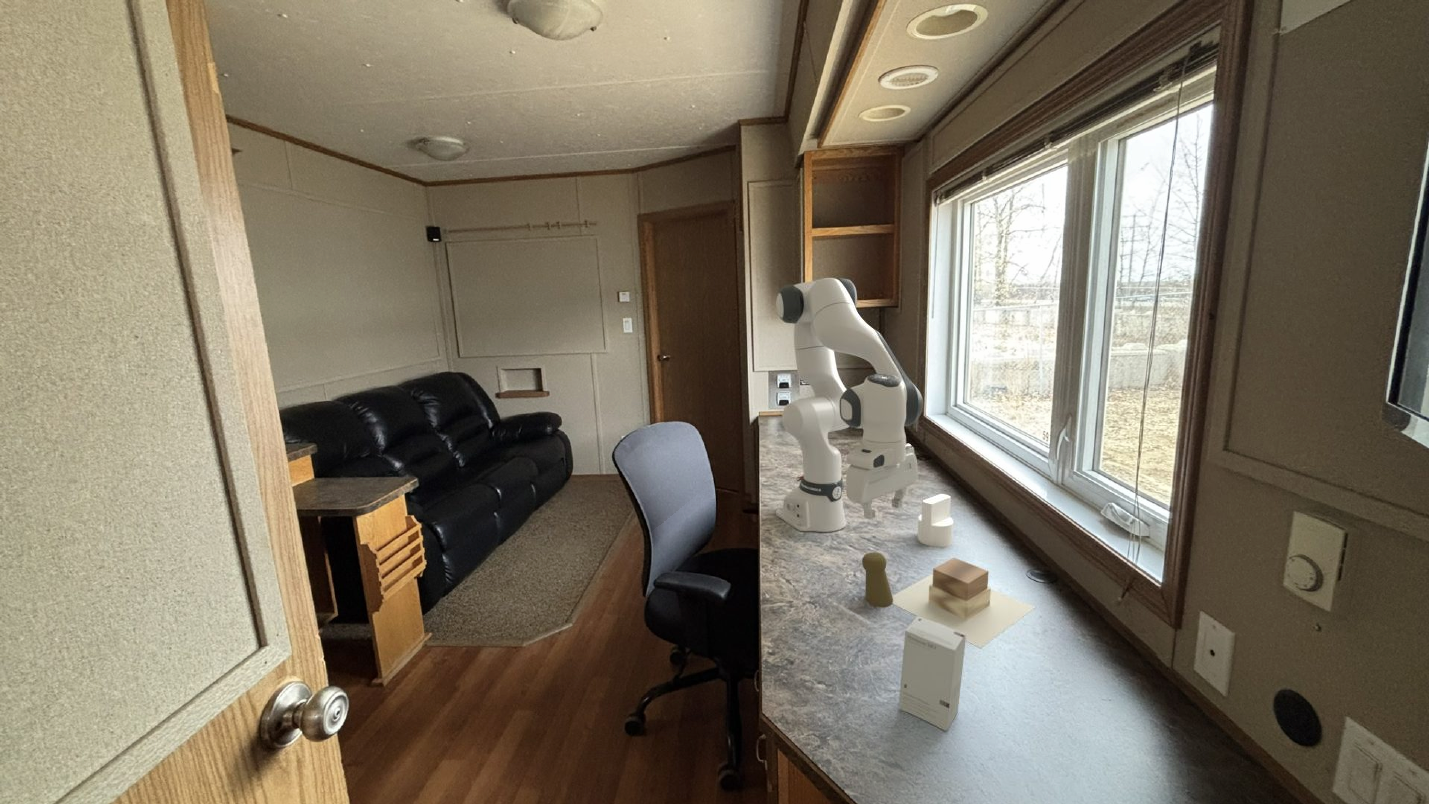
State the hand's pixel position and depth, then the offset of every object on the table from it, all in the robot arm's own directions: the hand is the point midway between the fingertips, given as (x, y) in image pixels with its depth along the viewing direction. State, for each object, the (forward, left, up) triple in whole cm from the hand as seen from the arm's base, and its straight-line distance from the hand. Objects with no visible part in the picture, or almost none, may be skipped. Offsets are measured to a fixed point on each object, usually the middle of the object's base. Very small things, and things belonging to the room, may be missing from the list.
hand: (883, 512), depth 121 cm
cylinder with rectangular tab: (-10, +36, -21) cm, 43 cm away
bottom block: (+12, +11, -21) cm, 26 cm away
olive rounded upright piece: (0, -1, -21) cm, 21 cm away
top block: (+12, +11, -17) cm, 23 cm away
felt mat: (+12, +11, -21) cm, 27 cm away
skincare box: (+26, -21, -21) cm, 40 cm away
